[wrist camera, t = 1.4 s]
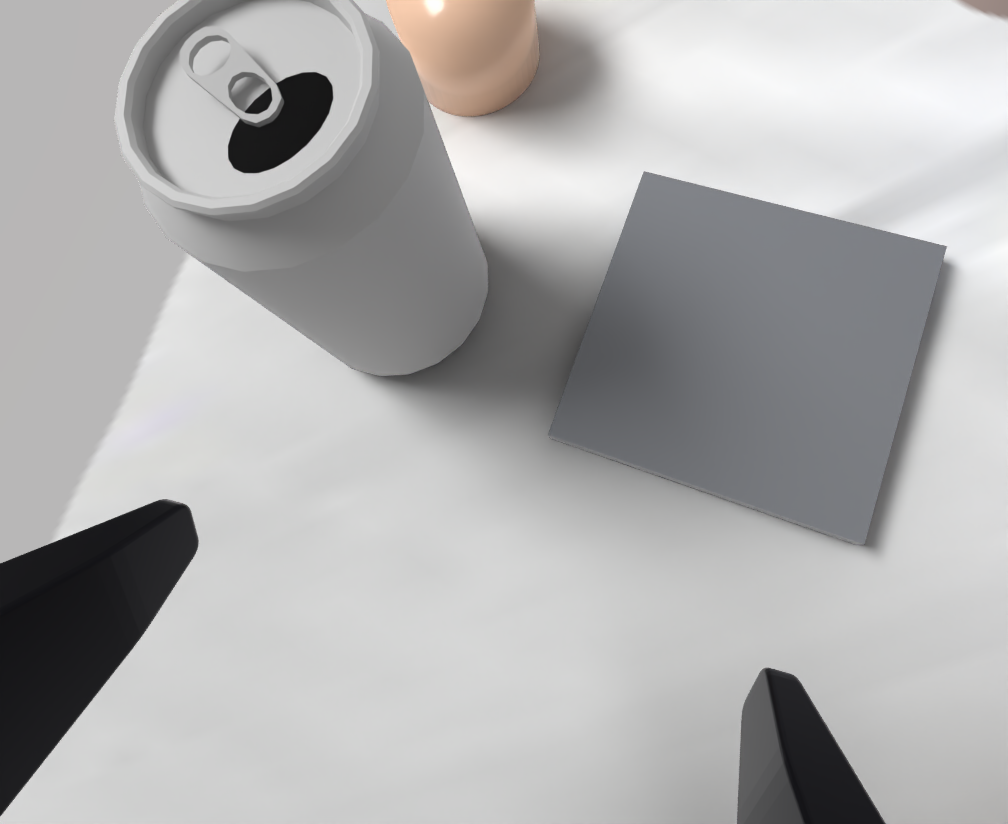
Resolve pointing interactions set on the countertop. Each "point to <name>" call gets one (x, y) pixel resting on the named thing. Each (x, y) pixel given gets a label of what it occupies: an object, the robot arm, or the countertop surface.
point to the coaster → (752, 353)
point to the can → (306, 174)
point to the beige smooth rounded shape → (470, 50)
